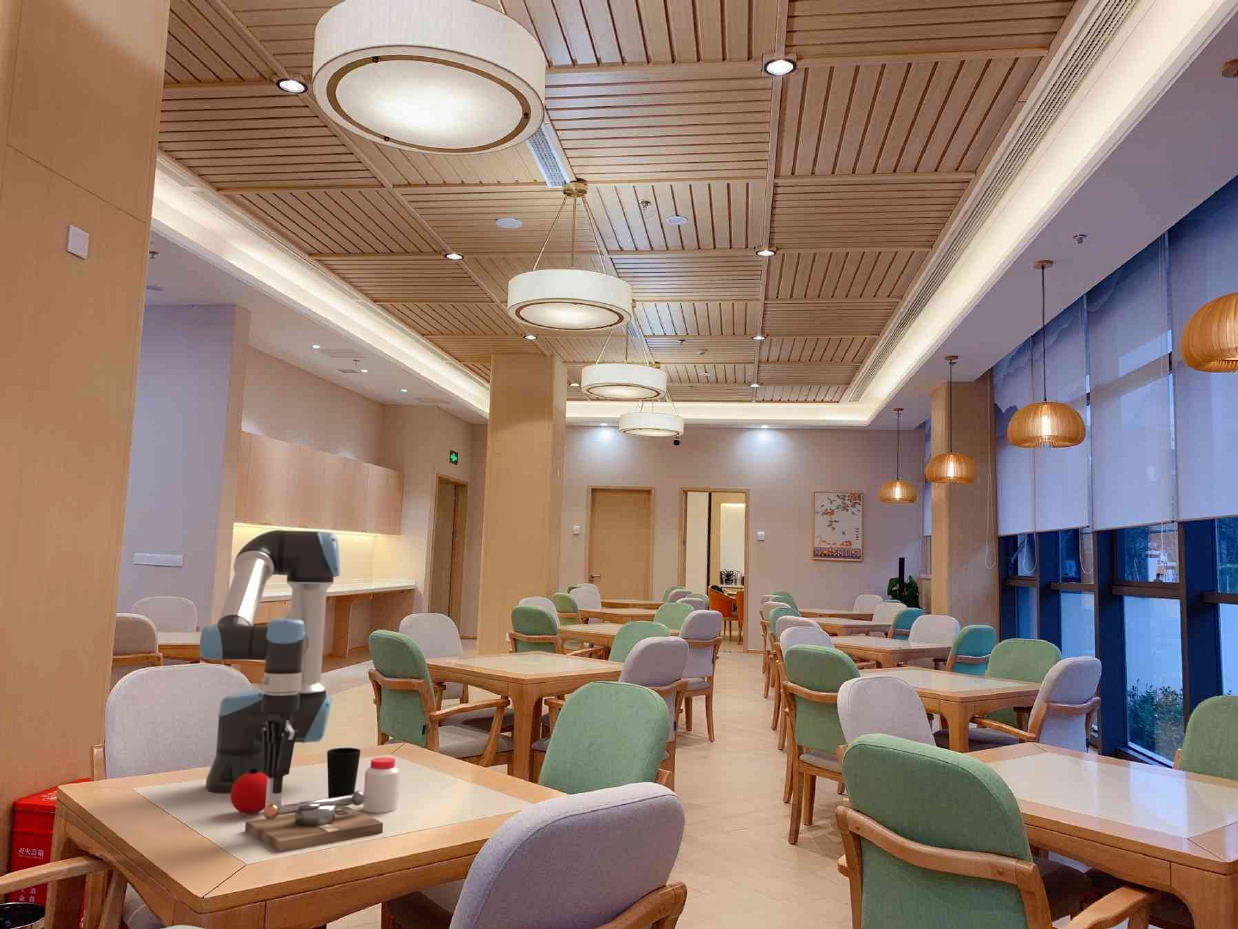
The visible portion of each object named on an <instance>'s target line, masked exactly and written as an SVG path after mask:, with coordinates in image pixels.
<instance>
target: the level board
mask: <svg viewBox="0 0 1238 929" xmlns="http://www.w3.org/2000/svg"><path fill="white" fill-rule="evenodd" d="M244 827H245V830H244V832H246V833H248V834H249V835H250V836H252V837H254V838H255V839H257V840H259V841H260V842H262V843H264V844H265V845H267V846H268V847H270V848H272V849H273V850H275V851H276V852H278V853H283V852H287V851H291V850H297V849H298V850H299V849H303V848H308V847H314V846H320V845H323V844H330V843H335V842H340V841H345V840H351V839H355V838H361V837H367V836H371V835H372V836H373V835H377V834H382V833H383V831H384V822H382V821H380V820H378V819H377V818H374V817H371V816H370V815H366V814H364V813H362V812H360V811H358V810H356V809H353V808H351V807H349V806H348V805H343V806H336V807H335V820H334V821H333V822H331V823H329V824H324V825H317V826H304V825H298V824H296V823H295V813H290V814H284V815H277V817H276V818H274V819H272V820H268V819H266V818H265V817H264V818H258V819H252V820H247V821H245V825H244Z"/></svg>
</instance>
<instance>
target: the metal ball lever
mask: <svg viewBox="0 0 1238 929" xmlns="http://www.w3.org/2000/svg"><path fill="white" fill-rule="evenodd" d="M364 800H365V795H364V791H361V790H356V791H355V792H354V793H353V794H352V795H347V796H340V797H334V798H328V797H327V798H322V799H315V800H306V801H300V802H296V803H290V804H283V805H282V804H281V806H277V805H275V804H269V805H267V806H266V807H265V808H264V809H263V810H262V814H263V817H264V818H266V819H268V820H272V819H274V818H276V817H277V816H282V815H288V814H294V813H295V823H296V824H298V825H304V826H317V825H324V824H329V823H331V822H333V821H334V820H335V807H337V806H339V805H345V806H347V805H346V804H350V805H354V806H360V805H363V802H364Z"/></svg>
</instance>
